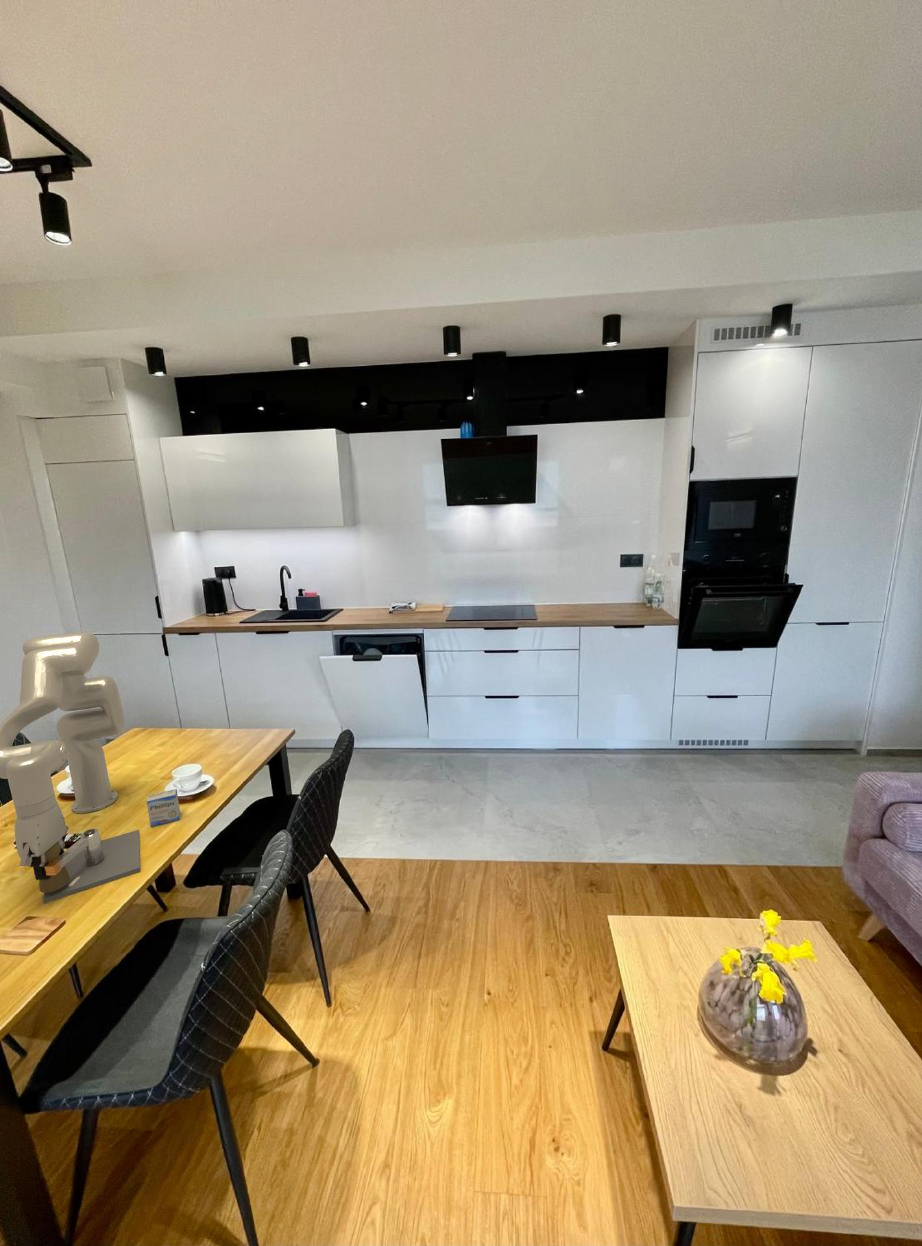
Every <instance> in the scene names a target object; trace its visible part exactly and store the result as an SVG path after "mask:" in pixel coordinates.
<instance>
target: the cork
mask: <svg viewBox="0 0 922 1246" xmlns="http://www.w3.org/2000/svg"><path fill="white" fill-rule="evenodd" d="M60 850H61V848H60V844H59V843H57V842H56V843H55V844H54V845H53V846H52V847H51V848H50V849H48V850H47V851H46V852H45V864H46V863H50V862H53V861H55V860H56V859H57V858H58V857H59V856H60V855H59V853H60ZM36 860H38V861H39V857H36ZM69 881H70V876H69V874H68V872H67V870H66V868H65V866H64V867H62V868H61V871H60V872H59V873H58V874H57V875H51V878H49V879H47V880H38V882H39V885H38V886H39V891H40V893H43V894H44V893H50V892H53V891H56V890H58V889H60V888H62V887H64V886H65V885H66V884H67V883H68V882H69Z"/></svg>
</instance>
